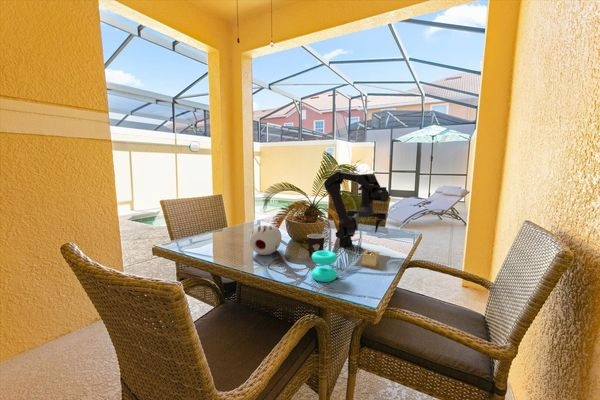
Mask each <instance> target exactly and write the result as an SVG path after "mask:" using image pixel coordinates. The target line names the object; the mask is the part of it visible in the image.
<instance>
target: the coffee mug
mask: <svg viewBox="0 0 600 400" xmlns="http://www.w3.org/2000/svg"><path fill="white" fill-rule="evenodd" d="M301 241H305V242H306V243H307V247H308V248H307V247H305V246H303V245H302V244H301ZM298 243H299V245H300V246H301V247H302V248H303V249H305V251H307V252H308V256H309V258H312V254H313V253H314V252H316V251H324V246H325V245H324V243H325V235H324V234H321V233H310V234H308V235H306V238H300V240H299V241H298Z"/></svg>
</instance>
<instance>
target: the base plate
mask: <svg viewBox="0 0 600 400" xmlns="http://www.w3.org/2000/svg"><path fill="white" fill-rule="evenodd" d="M390 258H391V256H390V255H384V254H379V264H378V265H377V267H376V268H374V267H368V266H362V256H361V257H360V258H359V259H358V260H357V261H356V262H355V263H354V265H353V266H354V267H357V268H358V267H359V268H365V269H369V270H376V271H383V270H384V269H385V267H386V265H388V262H389V260H390Z"/></svg>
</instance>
